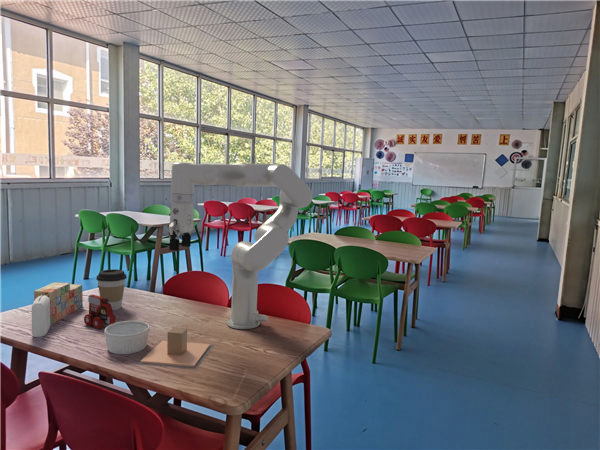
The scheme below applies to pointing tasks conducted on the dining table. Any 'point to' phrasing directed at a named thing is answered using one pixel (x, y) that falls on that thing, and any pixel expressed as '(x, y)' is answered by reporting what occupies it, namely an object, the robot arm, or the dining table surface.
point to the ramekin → (127, 337)
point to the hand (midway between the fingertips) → (180, 248)
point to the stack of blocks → (61, 299)
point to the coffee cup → (112, 286)
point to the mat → (176, 366)
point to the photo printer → (40, 316)
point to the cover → (176, 350)
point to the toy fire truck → (99, 312)
